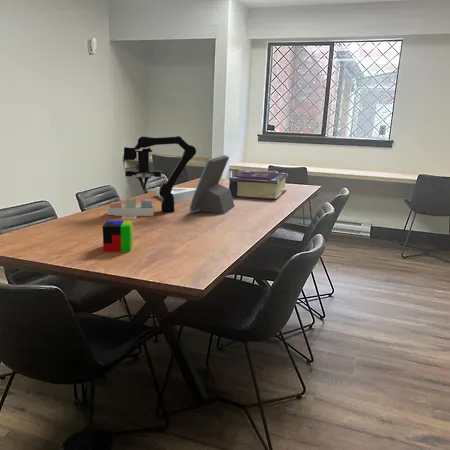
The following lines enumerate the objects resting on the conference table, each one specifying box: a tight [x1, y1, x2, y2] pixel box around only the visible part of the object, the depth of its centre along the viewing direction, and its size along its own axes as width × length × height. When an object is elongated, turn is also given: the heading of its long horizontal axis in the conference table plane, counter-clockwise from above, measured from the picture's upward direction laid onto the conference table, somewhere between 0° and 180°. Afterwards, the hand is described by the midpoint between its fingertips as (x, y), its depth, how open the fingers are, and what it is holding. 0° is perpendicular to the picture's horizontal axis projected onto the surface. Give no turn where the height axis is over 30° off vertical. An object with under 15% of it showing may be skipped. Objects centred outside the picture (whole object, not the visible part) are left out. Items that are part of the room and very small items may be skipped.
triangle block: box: [155, 186, 197, 204], centre depth 298 cm, size 30×26×6 cm
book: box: [228, 170, 289, 201], centre depth 322 cm, size 33×45×14 cm
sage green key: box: [125, 198, 138, 208], centre depth 245 cm, size 5×5×5 cm
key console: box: [107, 204, 155, 217], centre depth 246 cm, size 23×7×4 cm, turn 94°
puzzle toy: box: [102, 220, 134, 253], centre depth 182 cm, size 10×10×10 cm
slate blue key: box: [140, 199, 153, 208], centre depth 246 cm, size 5×5×5 cm
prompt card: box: [121, 216, 138, 220], centre depth 238 cm, size 7×6×1 cm
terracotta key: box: [109, 201, 122, 208], centre depth 245 cm, size 5×5×5 cm
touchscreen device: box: [189, 154, 235, 215], centre depth 263 cm, size 35×20×30 cm, turn 165°
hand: (144, 189), depth 252 cm, fingers closed
